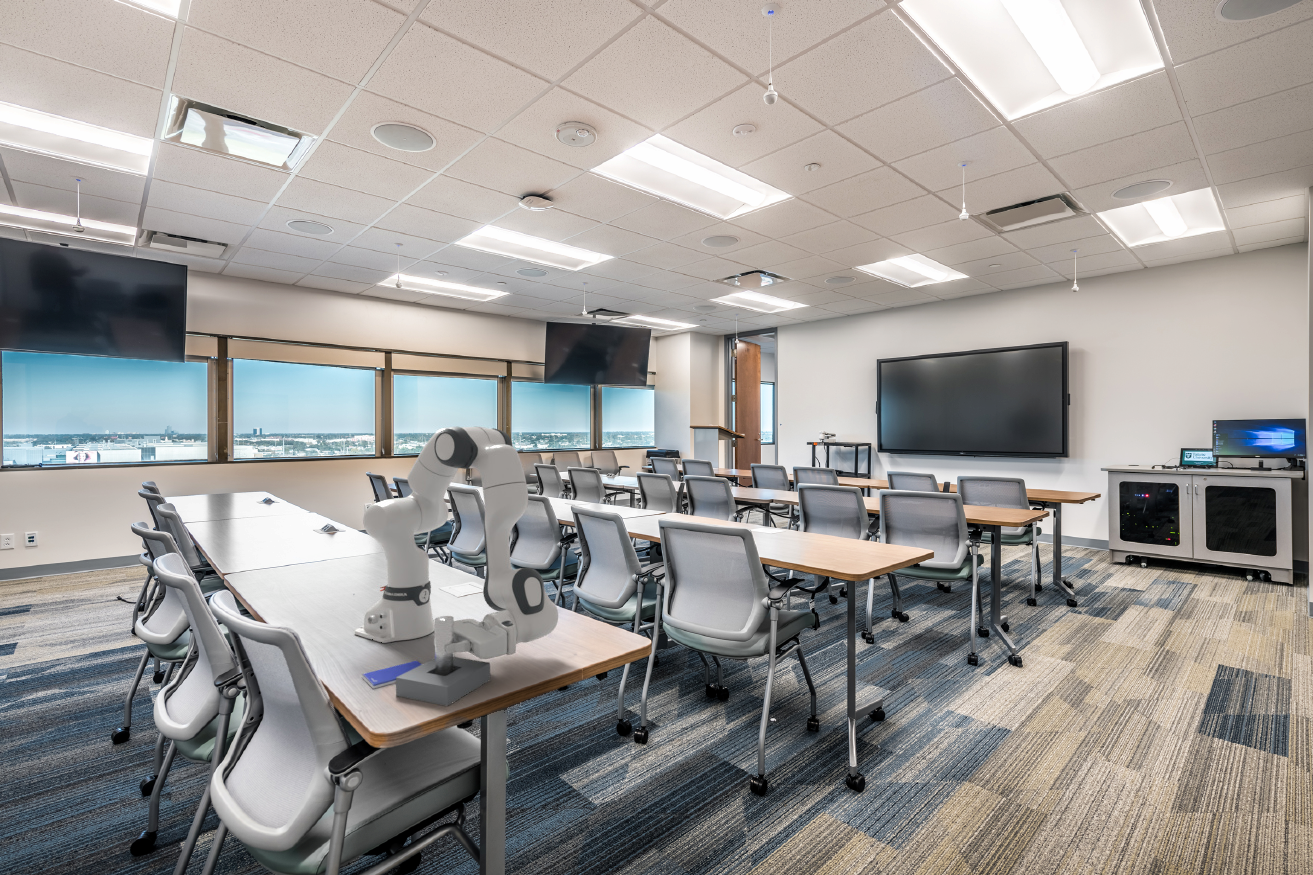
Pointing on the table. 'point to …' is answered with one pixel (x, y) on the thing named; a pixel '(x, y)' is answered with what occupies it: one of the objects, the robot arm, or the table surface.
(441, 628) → the post
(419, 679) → the socket base
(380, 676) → the hard drive
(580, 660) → the table surface
